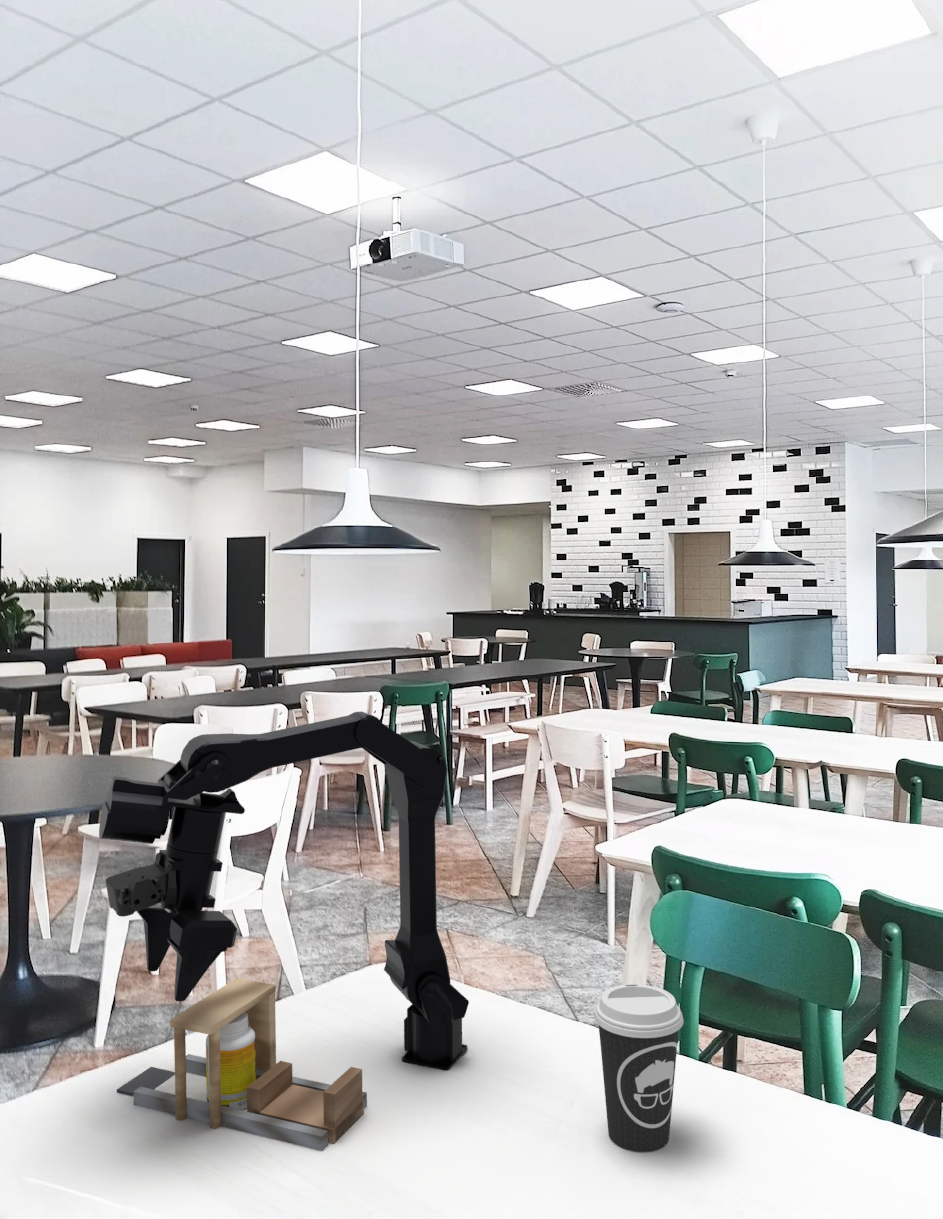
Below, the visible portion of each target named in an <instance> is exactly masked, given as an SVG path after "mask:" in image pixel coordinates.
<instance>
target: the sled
mask: <svg viewBox="0 0 943 1219" xmlns="http://www.w3.org/2000/svg"><path fill="white" fill-rule="evenodd" d="M292 1077H293V1063H292V1062H287V1061H283V1060H280V1061H278V1062H276V1065H275V1066H273V1067H272V1068H271V1069H269V1070H268V1071H267V1072H266V1073H264V1074H263V1075H262V1076H261V1077H259V1078H258V1079H257V1080H256V1081H254V1082H253V1083H252V1084H251V1085H249V1086H248V1087H247V1108H246V1110H247V1111H246V1112H250V1113H255V1114H259V1115H263V1116H267V1117H271V1118H276V1119H280V1120H284V1121H288V1122H293V1123H297V1124H301V1125H305V1126H309V1127H314V1128H318V1129H322V1130H326V1131H328V1144H329V1143H330V1144H335V1143H336V1142H337V1141H338V1140H339V1139H340V1138H341V1137H342V1136H343V1135H344V1134H345V1133H346V1132H347V1131H348V1130H349V1129H350V1128H351V1127H352V1126H353V1125H354V1124H355V1123H356V1122H357V1121H358V1120H359V1119H360V1118H361V1117H362V1116H363V1115H364V1113H365V1108H364V1100H363V1098H362V1092H363V1068H358V1067H354V1066H350V1067H349V1068H348V1069H347V1070H345V1072H344V1073H342V1074H341V1075H340V1076H339V1078H337V1079H336V1080H335V1081H334V1082H333V1083H332V1084H329V1085H330V1086H329V1087H328V1088H327V1089H326V1090H325V1091H320V1090H315V1089H311V1088H306V1087H302V1086H297V1085H293V1084H292Z"/></svg>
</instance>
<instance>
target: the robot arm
mask: <svg viewBox="0 0 943 1219" xmlns="http://www.w3.org/2000/svg"><path fill="white" fill-rule="evenodd" d="M357 749H363V750H364V751H366V753H368V754H369V755H371V756H372V757H373V758H375V759H376V760H377V761H379V762H380V763H382V764H383V765H384V766H385V772H386V777H387V778H386V779H387V782H388V788H389V792H390V794H391V797H392V800H393V804H394V806H395V809H396V812H397V815H398V816H397V817H398V846H399V847H398V849H399V850H398V851H399V852H398V859H399V860H398V861H399V862H398V863H399V867H398V868H399V907H400V908H399V911H400V912H399V915H400V916H399V918H400V920H399V921H400V922H399V923H400V924H399V928H398V931H397V934H396V936H395V938H394V939H386V940H384V950H385V954H386V960H385V965H384V968H383V971H384V972H385V973H386V974H387V975H388V976H389V979H390V981H391V983H392V984H393V985H394V987H396V988H397V989H398V991H399V992H400V993H401V994H402V996H404V997H405V998H406V1000H407V1001H409V1003H411V1004H410V1006H408V1007H407V1009H406V1017H405V1018H404V1019H403V1049H404V1052H406V1053H405V1054H404V1055H402V1057H401V1062H402V1063H406V1064H409V1065H410V1064H411V1065H416V1066H420V1067H426V1068H431V1069H436V1070H440V1071H450V1070H451V1069H452V1067H453V1066H455V1064H456V1063H457V1061H459V1060H460V1058H461V1057H462V1056H464V1055H465V1053H467V1051H468V1050H469V1049H468V1048H469V1047H468V1045H467V1044H464V1043H463V1019H464V1018H465V1017H466V1013H467V1009H468V1007H469V1003H470V1000H468V999H467V997H465V996H464V995H463V994H462V993H461V992H460V991H459V990H457V989H456V988H455V986H453V985H452V984H451V977H450V971H449V970H450V969H449V965H448V959H447V956H446V953H445V950H444V947H443V944H442V941H441V938H440V935H439V932H438V925H437V920H438V919H437V916H438V915H437V914H438V913H437V911H438V910H437V864H436V863H437V859H436V858H437V857H436V856H437V854H436V852H437V849H436V817H437V814H438V812H439V811H438V810H439V809H440V807H441V804H442V801H443V799H444V797H445V790H446V784H447V776H448V766H447V761H446V758H445V757H444V756H443V755H442V754H441V753H440V752H438V751H437V750H436V749H433V748H431V747H428V746H427V745H424V744H421V743H419V742H417V741H414V740H408V739H407V738H405V737H403V736H402V735H401V734H399V733H397V732H396V731H395V730H393V729H391V728H390V727H388V726H387V725H385V724H384V723H383V722H382V721H381V720H380V718H378V717H377V716H375V715H372V714H370V713H368V712H364V711H355V712H352V713H351V714H348V715H345V716H343V715H342V716H339V717H334V718H330V719H326V720H320V721H317V722H311V723H306V724H301V725H298V726H297V725H296V726H292V727H286V728H282V729H278V730H272V731H268V732H262V733H251V734H249V733H205V734H200V735H197V736H194V737H192V738H191V739H189V740H188V742H187V744H186V745H185V747H183V749H182V752H181V755H180V759H179V760H178V761H177V762H176V763H175V764H173V766H172V767H171V768H170V769H169V770H167V771H166V772H165V773H164V774H163V775H162V776H161V777H160V778H158V780H157V782H152V781H150V782H149V781H143V780H135V779H130V778H127V777H125V776H123V777H122V776H114V777H112V779H111V784H110V787H109V789H108V791H107V795H106V799H105V801H103V804H102V807H101V808H102V809H101V814H100V819H99V820H100V821H99V827H98V828H99V829H98V837H99V840H107V841H117V842H129V843H139V844H151V845H153V843H155V841H156V839H157V840H161V838H162V836H165V834H166V832H167V829H168V826H169V821H170V814H171V810H172V809H171V808H172V807H173V811H172V812H173V813H172V817H171V823H170V828H169V832H168V837H167V843H166V847H165V849H159V852H157V853H156V854H155V858H154V863H153V864H150V865H146V866H145V865H144V866H139V867H136V868H132V869H129V870H126V871H123V872H120V873H117V874H114V875H110V876H109V877H107V878H106V879H105V885H106V891H107V898H108V904H109V908H111V909H113V911H114V912H115V913H116V915H117V916H118V917H129V916H131V915H134V913H136V914H138V916H140V918H141V919H142V921H143V929H144V930H143V931H144V941H145V954H146V969H147V971H149V972H157V971H158V970H159V968H160V967H161V965H162V962H163V961H164V959H165V957H166V955H167V953H168V951H169V949H170V947H172V949H173V950H174V951H175V952H176V963H175V964H176V965H175V980H174V1000H175V1001H176V1002H185V1001H186V1000H187V998H188V997H189V996H190V994H191V993H192V992H193V990H194V989H195V988H196V985H198V983H199V982H200V981H201V979H202V978H203V976H204V975H205V973H206V972H208V969H209V968H210V967H211V966H212V964H214V962H215V961H216V960H217V958H219V955H221V953H223V952H224V953H225V952H227V951H228V948H229V949H230V948H233V947H234V946H235V944H236V938H237V932H238V928H237V926H236V925H235V924H234V922H233V921H232V920H231V919H230V918H229V917H227V915H225V914H224V913H223V912H221V910H203V909H208V908H209V909H213V908H215V904H216V898H215V897H214V896H212V894H211V890H212V885H213V880H214V874H215V872H217V873H218V872H219V873H220V872H222V867H223V862H222V861H221V860H219V859H218V854H219V849H220V844H221V839H222V835H223V829H224V825H225V824H224V823H225V818H226V813H227V814H237V815H243V814H244V813H245V811H246V809H245V807H244V806H243V805H242V804H241V803H240V801H239V800H238V798H237V796H236V792H235V791H234V790H233V789H232V787H236V786H237V785H240V784H242V783H244V782H247V781H249V780H250V779H252V778H254V777H256V776H257V775H259V774H261V773H264V772H266V771H267V770H270V769H272V768H276V767H281V766H286V765H291V764H295V763H296V764H297V763H300V762H304V761H309V760H313V759H314V760H315V759H318V758H322V757H327V756H331V755H335V754H339V753H343V752H348V751H354V750H357ZM222 791H223V792H222ZM220 792H222V793H220ZM216 793H217V794H216ZM219 793H220V794H219Z"/></svg>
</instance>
